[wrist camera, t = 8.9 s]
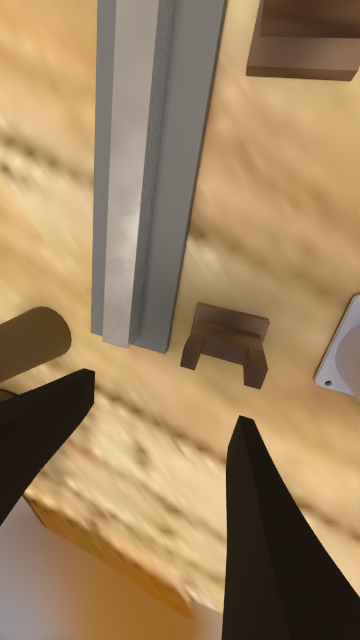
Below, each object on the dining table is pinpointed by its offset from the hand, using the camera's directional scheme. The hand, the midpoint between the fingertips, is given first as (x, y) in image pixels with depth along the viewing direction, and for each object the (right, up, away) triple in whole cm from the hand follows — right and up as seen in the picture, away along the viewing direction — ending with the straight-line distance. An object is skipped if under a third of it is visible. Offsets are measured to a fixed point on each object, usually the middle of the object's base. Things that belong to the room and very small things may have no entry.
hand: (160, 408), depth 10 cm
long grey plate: (-2, +14, +7) cm, 16 cm away
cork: (-14, +3, +14) cm, 20 cm away
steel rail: (-2, +14, +6) cm, 15 cm away
